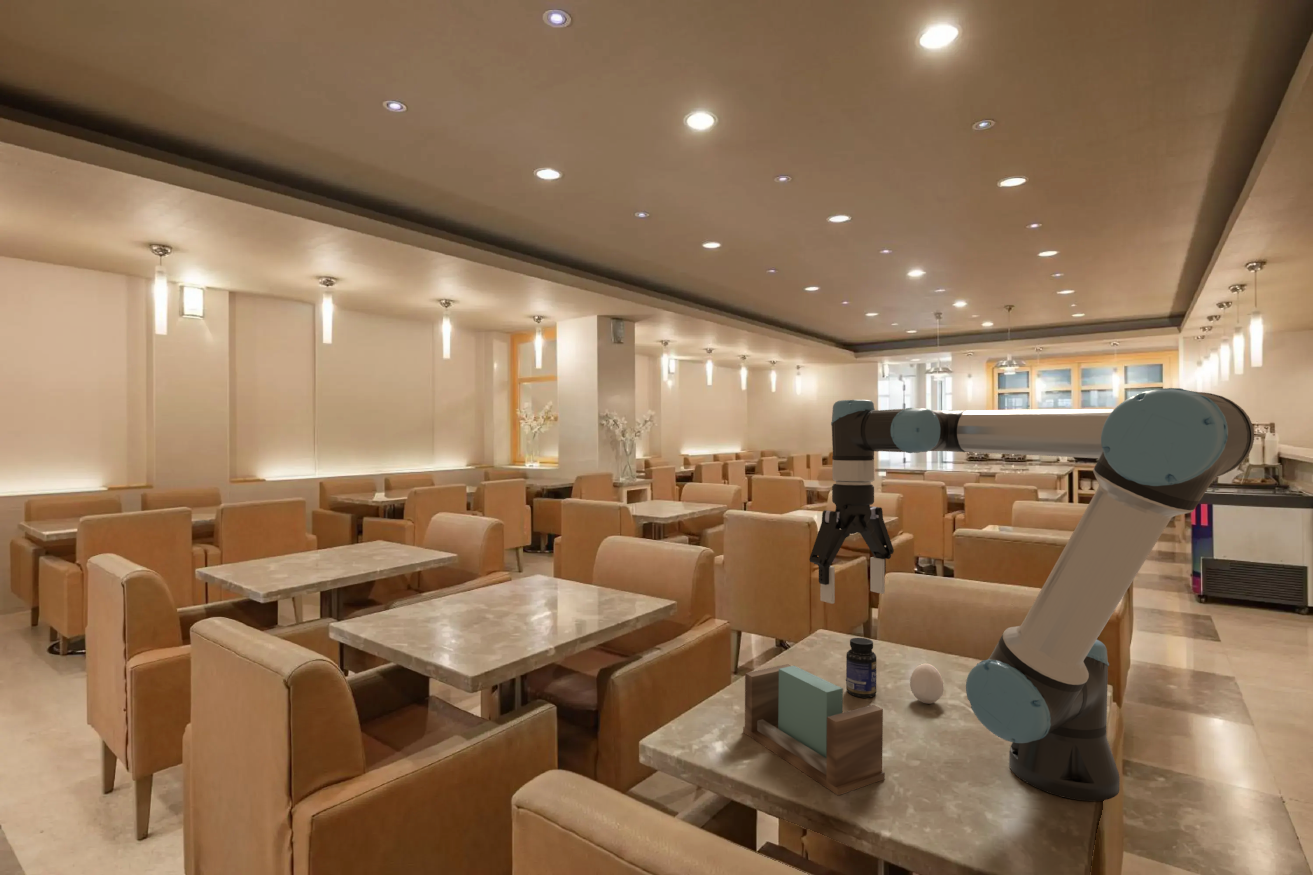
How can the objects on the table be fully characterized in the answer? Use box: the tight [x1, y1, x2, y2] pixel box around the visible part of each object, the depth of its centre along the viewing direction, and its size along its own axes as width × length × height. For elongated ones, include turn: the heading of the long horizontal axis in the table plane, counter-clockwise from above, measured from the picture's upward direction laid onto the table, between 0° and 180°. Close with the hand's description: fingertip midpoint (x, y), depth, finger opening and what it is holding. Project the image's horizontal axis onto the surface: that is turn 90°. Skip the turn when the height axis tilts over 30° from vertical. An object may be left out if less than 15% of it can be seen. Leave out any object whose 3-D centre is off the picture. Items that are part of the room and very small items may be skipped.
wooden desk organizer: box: [742, 663, 886, 796], centre depth 114 cm, size 24×10×11 cm, turn 29°
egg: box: [909, 662, 945, 705], centre depth 135 cm, size 6×6×8 cm
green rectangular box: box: [778, 665, 844, 759], centre depth 114 cm, size 12×4×12 cm, turn 29°
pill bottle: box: [845, 637, 877, 699], centre depth 140 cm, size 6×6×11 cm
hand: (853, 597), depth 124 cm, fingers open, 13 cm apart
